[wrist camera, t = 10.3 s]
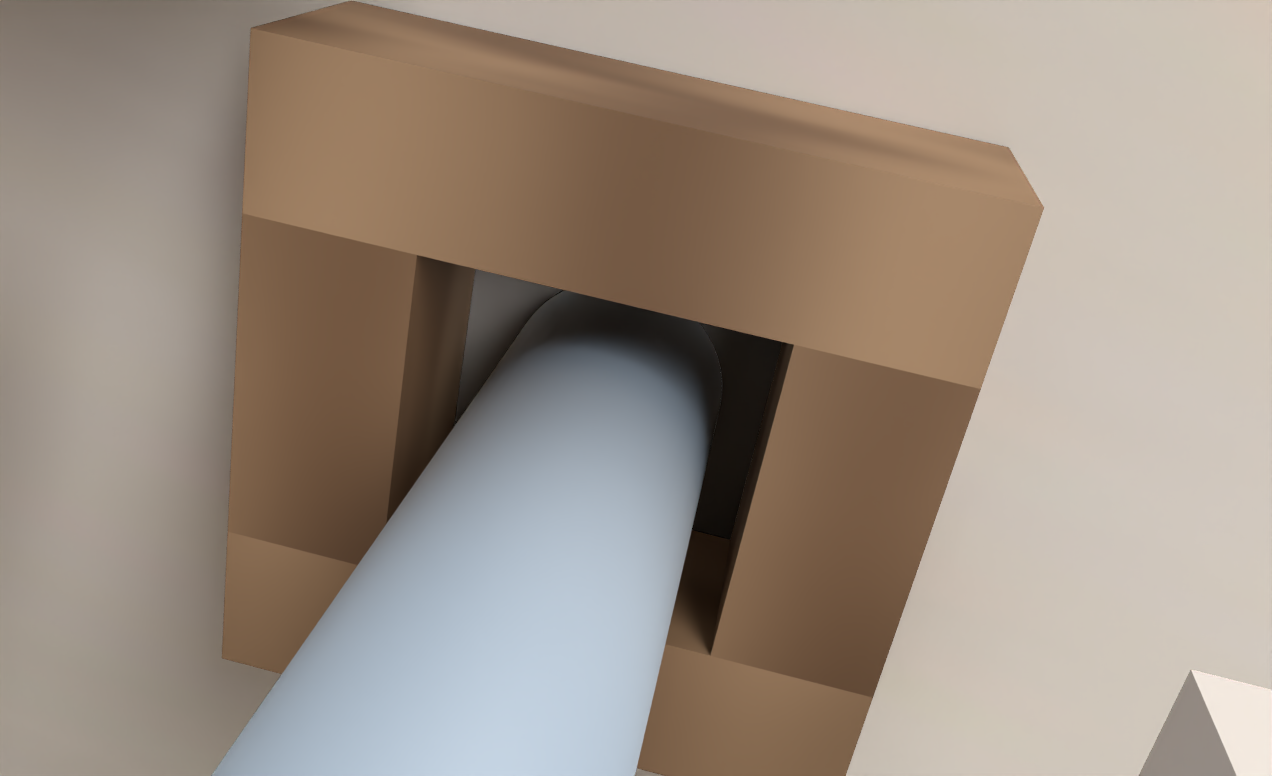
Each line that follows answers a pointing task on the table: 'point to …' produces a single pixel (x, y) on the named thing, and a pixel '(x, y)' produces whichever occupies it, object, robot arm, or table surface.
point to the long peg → (516, 570)
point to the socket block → (628, 274)
